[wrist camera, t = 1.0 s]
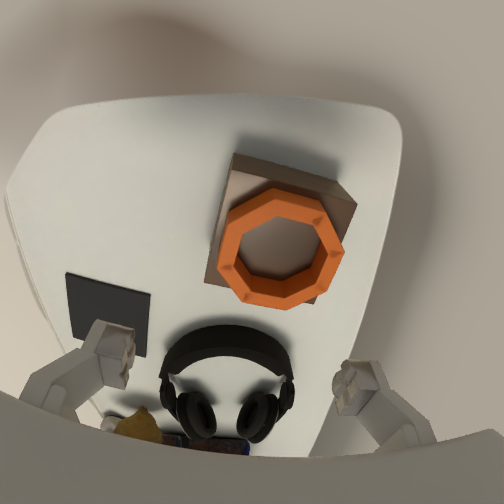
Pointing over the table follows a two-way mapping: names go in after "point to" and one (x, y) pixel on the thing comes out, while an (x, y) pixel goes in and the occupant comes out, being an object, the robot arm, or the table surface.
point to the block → (277, 220)
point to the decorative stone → (140, 427)
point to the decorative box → (209, 444)
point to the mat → (107, 308)
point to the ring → (297, 285)
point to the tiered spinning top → (110, 423)
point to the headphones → (237, 345)
